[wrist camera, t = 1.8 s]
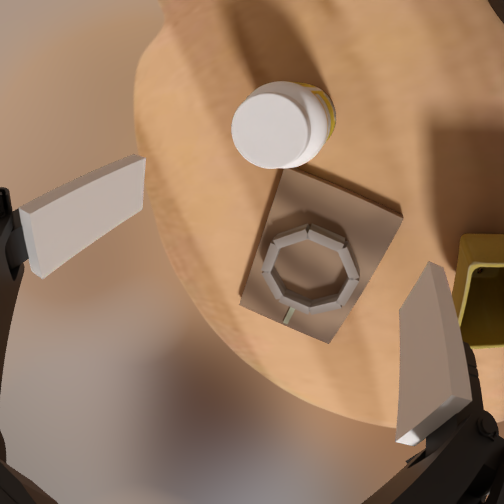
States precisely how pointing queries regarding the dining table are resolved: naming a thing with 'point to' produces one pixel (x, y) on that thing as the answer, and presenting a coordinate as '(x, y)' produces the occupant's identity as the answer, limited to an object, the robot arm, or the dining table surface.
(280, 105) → the pill bottle
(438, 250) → the dining table surface
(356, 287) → the collar base
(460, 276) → the flower pot
